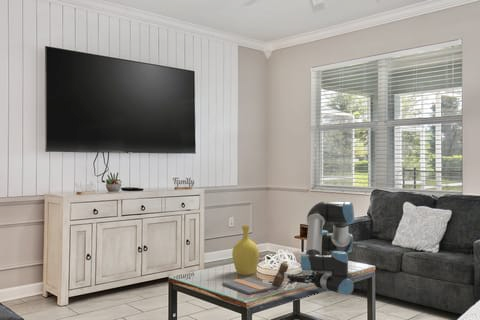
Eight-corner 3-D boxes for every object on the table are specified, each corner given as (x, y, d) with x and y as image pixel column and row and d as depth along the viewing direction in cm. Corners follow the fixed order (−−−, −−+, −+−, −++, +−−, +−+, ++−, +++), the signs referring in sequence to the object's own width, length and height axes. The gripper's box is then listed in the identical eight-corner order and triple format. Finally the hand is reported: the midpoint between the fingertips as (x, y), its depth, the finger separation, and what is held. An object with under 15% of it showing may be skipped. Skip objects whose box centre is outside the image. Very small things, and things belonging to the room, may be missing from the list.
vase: (227, 274, 270) (227, 227, 270) (240, 268, 284) (240, 223, 284) (251, 277, 262) (251, 228, 263) (263, 271, 276) (263, 225, 277)
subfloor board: (248, 279, 256) (248, 277, 256) (276, 288, 237) (276, 286, 237) (222, 284, 246) (222, 282, 246) (249, 294, 226) (249, 291, 226)
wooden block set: (278, 292, 240) (284, 275, 237) (265, 283, 244) (271, 267, 242) (294, 283, 255) (300, 267, 252) (281, 275, 259) (287, 260, 257)
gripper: (306, 293, 215) (276, 283, 232) (341, 284, 230) (310, 277, 247) (306, 277, 215) (276, 269, 232) (341, 270, 230) (310, 263, 247)
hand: (294, 273), depth 240 cm, fingers open, 13 cm apart
